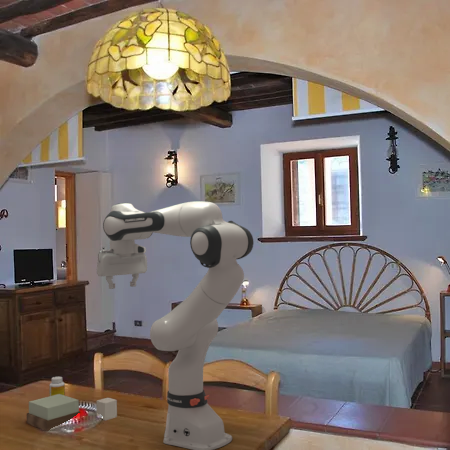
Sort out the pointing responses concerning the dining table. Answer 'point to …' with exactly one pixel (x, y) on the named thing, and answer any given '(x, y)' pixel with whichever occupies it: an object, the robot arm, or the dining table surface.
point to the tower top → (53, 406)
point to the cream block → (107, 408)
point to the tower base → (48, 421)
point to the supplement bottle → (56, 386)
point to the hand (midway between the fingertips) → (122, 287)
